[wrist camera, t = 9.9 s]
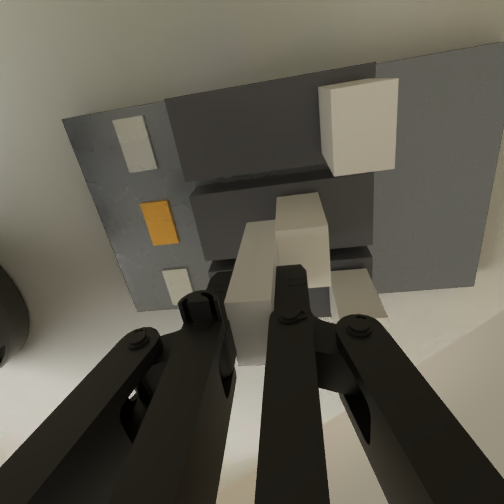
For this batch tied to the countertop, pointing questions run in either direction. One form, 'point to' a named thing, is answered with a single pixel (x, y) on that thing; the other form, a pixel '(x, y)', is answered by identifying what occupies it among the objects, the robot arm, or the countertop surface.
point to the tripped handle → (304, 236)
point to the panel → (385, 182)
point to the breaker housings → (292, 156)
